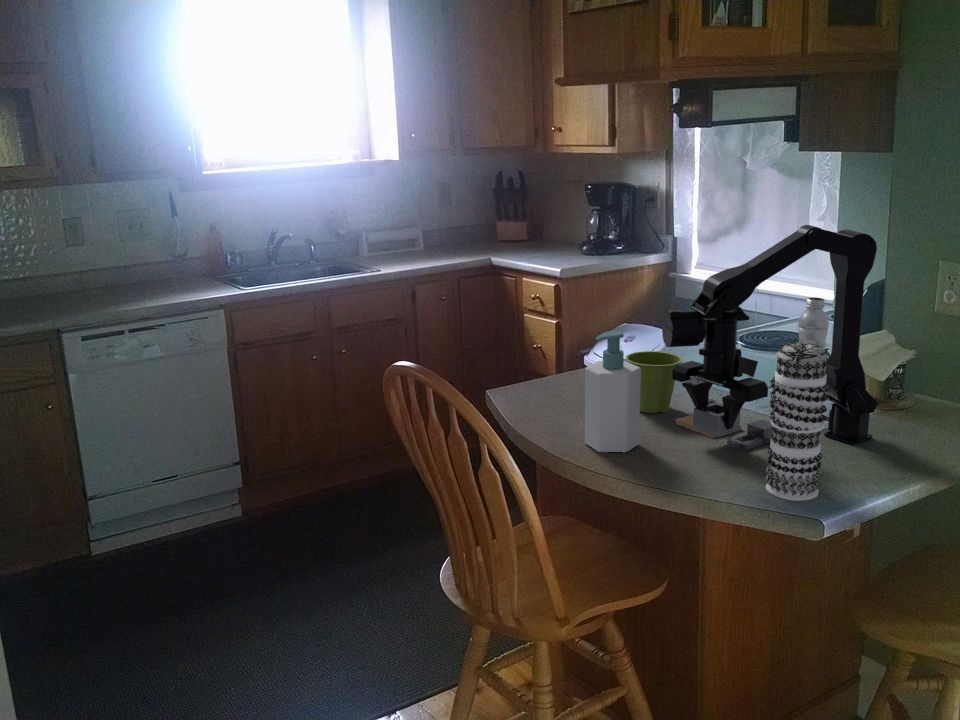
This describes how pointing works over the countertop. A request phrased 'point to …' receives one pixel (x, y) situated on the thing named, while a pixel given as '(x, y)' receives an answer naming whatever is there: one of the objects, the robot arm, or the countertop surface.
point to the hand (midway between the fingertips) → (716, 424)
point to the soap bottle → (612, 399)
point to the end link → (713, 420)
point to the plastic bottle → (813, 323)
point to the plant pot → (655, 378)
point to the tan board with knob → (688, 421)
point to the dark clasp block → (752, 436)
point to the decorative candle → (797, 421)
